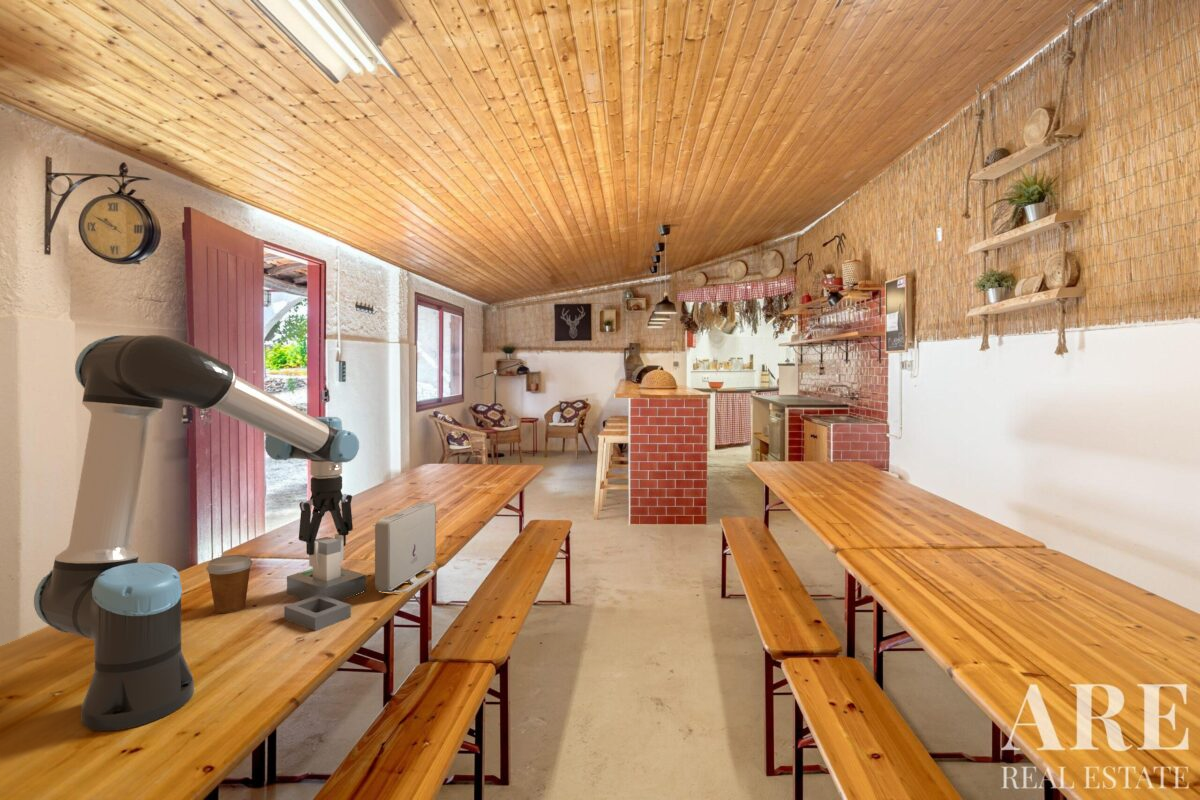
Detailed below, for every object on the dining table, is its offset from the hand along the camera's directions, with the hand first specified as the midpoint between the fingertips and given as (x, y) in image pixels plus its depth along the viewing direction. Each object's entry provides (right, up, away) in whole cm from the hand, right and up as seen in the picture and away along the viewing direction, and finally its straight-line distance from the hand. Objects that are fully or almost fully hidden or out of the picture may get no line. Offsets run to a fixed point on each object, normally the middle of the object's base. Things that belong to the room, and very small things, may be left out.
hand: (326, 562), depth 152 cm
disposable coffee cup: (-18, -8, -11) cm, 23 cm away
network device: (+18, -8, +9) cm, 22 cm away
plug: (0, -8, 0) cm, 8 cm away
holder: (+5, -9, -16) cm, 19 cm away
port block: (0, -8, 0) cm, 8 cm away
